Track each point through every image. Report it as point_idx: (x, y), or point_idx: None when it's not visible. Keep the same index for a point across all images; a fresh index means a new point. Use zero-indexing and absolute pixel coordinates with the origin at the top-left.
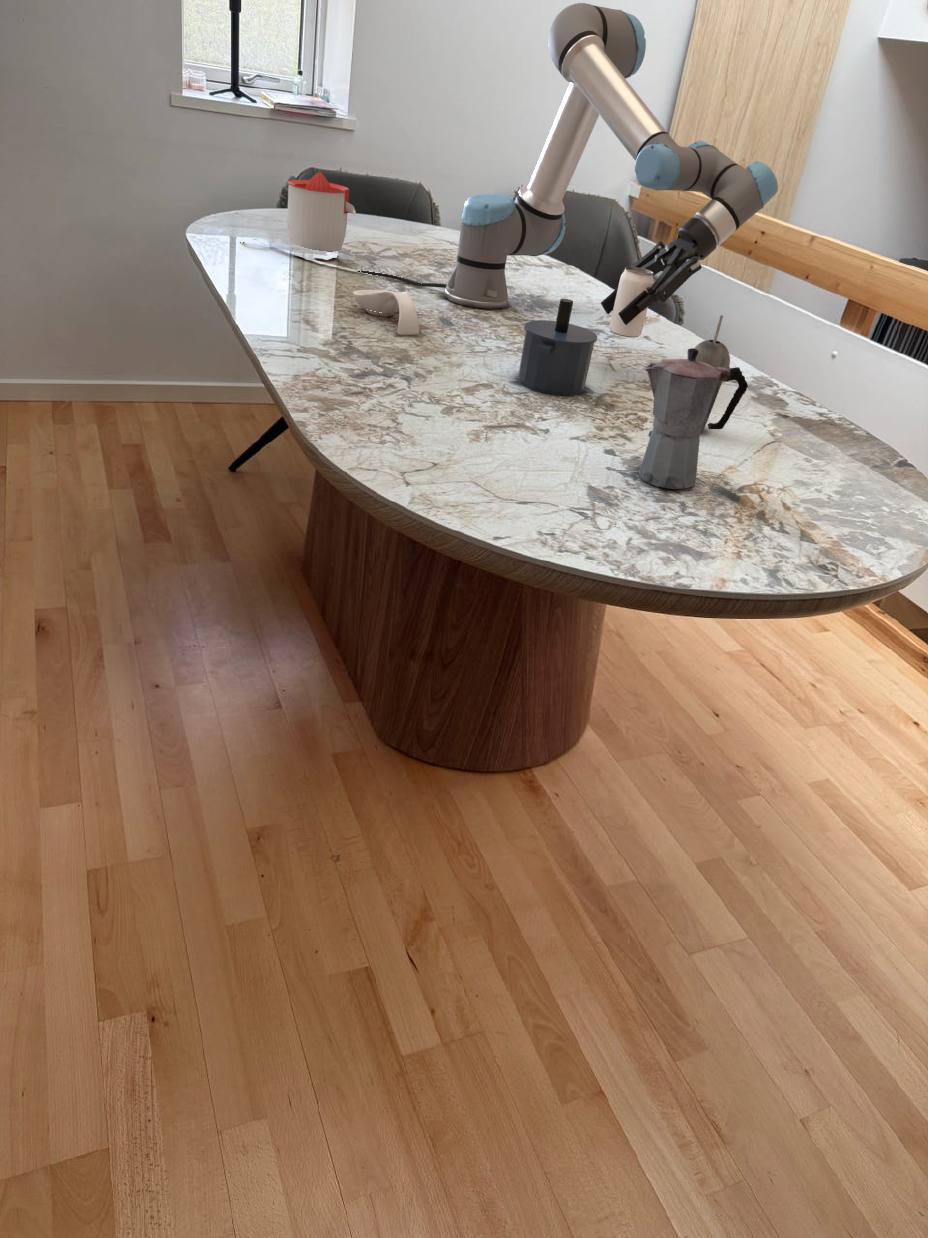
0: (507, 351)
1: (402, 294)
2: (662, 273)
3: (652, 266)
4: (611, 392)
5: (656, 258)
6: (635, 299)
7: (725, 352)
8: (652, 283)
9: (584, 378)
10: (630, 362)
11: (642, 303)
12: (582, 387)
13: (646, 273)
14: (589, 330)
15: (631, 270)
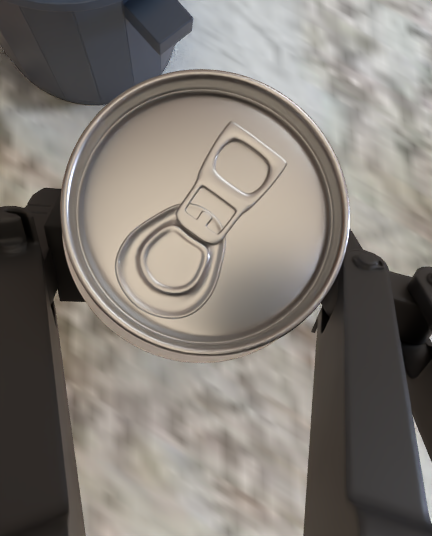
0: (339, 51)
1: None
2: (39, 398)
3: (332, 444)
4: (17, 161)
5: (367, 515)
6: None
7: None
8: (88, 305)
9: (2, 44)
10: (269, 380)
11: (28, 205)
12: (12, 59)
13: (175, 278)
14: (62, 2)
15: (267, 170)
